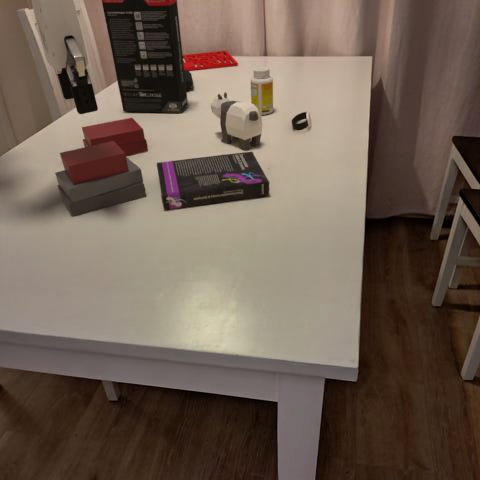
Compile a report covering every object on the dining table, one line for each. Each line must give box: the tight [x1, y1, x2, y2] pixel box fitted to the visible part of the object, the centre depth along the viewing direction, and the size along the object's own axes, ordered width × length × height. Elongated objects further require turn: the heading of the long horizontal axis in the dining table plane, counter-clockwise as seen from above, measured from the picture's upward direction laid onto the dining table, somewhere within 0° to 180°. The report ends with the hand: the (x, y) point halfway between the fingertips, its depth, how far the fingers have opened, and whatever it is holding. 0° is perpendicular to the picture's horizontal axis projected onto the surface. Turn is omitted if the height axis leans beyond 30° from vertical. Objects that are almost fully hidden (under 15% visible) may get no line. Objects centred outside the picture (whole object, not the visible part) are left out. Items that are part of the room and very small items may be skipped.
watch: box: [291, 110, 312, 131], centre depth 110 cm, size 8×5×4 cm, turn 168°
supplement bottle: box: [250, 66, 274, 116], centre depth 117 cm, size 6×6×10 cm
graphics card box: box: [101, 0, 189, 114], centre depth 117 cm, size 17×7×27 cm, turn 80°
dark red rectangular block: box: [59, 141, 129, 185], centre depth 84 cm, size 10×7×3 cm
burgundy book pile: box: [81, 117, 149, 157], centre depth 103 cm, size 12×9×5 cm
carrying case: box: [184, 70, 194, 92], centre depth 141 cm, size 11×3×15 cm
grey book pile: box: [54, 156, 147, 217], centre depth 86 cm, size 14×10×5 cm
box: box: [156, 151, 271, 211], centre depth 88 cm, size 14×4×20 cm
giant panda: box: [209, 91, 263, 151], centre depth 103 cm, size 15×6×10 cm, turn 42°
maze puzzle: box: [183, 50, 239, 71], centre depth 164 cm, size 20×20×1 cm
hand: (80, 104), depth 77 cm, fingers open, 9 cm apart
